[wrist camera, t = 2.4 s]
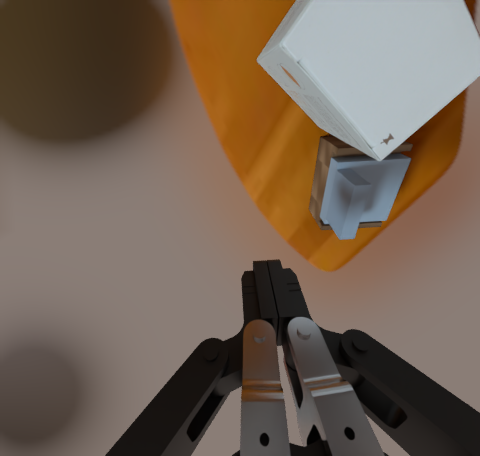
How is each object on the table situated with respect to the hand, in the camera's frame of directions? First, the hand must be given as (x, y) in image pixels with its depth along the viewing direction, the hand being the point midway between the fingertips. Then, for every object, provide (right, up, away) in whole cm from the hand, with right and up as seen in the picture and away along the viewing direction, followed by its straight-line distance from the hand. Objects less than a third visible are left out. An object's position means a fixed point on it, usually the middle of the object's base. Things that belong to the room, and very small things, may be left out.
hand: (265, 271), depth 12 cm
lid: (+10, +6, +8) cm, 14 cm away
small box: (+5, +16, +5) cm, 17 cm away
